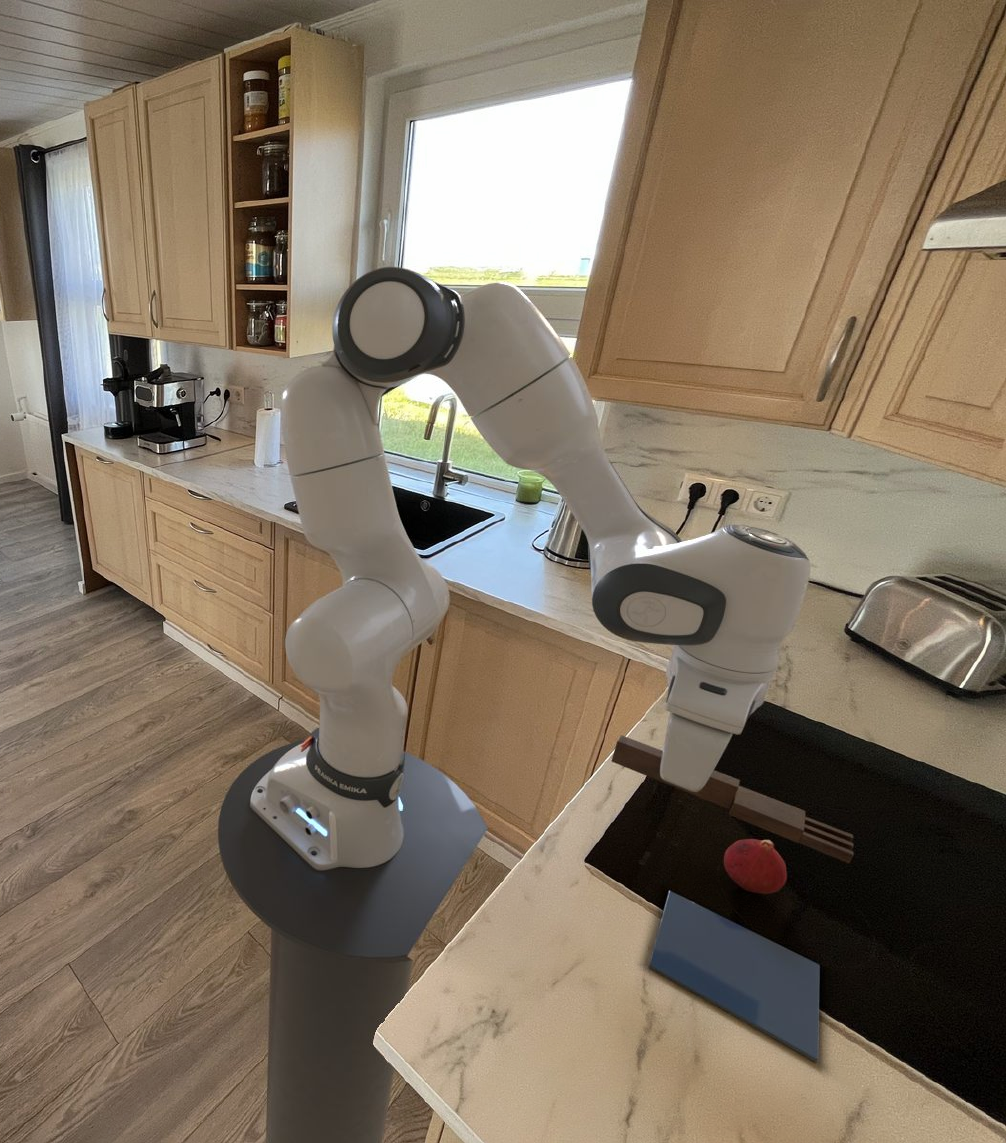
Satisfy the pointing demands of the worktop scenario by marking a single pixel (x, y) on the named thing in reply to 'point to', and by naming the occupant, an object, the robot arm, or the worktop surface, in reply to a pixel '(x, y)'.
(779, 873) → the red fruit
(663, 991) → the worktop surface
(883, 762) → the worktop surface
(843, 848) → the fork
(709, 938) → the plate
